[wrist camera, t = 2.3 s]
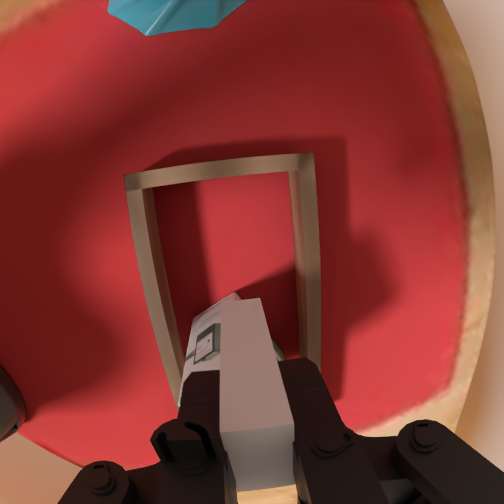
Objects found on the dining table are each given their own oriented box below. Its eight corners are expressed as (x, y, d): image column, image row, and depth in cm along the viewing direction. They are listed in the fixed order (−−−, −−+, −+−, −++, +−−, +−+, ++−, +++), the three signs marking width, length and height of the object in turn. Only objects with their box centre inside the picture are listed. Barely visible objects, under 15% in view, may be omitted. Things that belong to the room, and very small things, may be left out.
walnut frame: (194, 426, 30) (192, 448, 26) (137, 174, 23) (123, 175, 19) (310, 411, 31) (317, 432, 27) (300, 155, 24) (313, 152, 20)
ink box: (286, 354, 28) (318, 444, 17) (244, 378, 28) (256, 472, 17) (234, 288, 26) (245, 371, 15) (189, 318, 26) (173, 409, 15)
